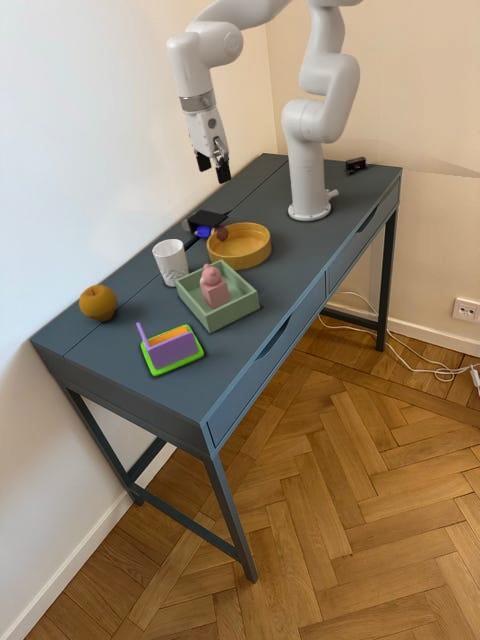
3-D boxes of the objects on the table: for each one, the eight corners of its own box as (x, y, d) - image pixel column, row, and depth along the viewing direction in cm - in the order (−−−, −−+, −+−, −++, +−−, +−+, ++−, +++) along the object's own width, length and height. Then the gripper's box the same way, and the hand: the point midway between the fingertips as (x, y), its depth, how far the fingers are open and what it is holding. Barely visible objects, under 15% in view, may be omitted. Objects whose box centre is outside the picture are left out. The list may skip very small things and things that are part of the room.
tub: (225, 275, 120) (221, 259, 117) (260, 308, 108) (257, 291, 104) (179, 296, 116) (174, 280, 113) (210, 333, 104) (205, 316, 100)
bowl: (251, 229, 135) (249, 215, 132) (284, 253, 123) (282, 239, 120) (199, 252, 130) (196, 238, 127) (228, 279, 118) (225, 265, 115)
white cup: (196, 271, 123) (187, 239, 117) (184, 289, 118) (175, 257, 111) (170, 269, 126) (160, 238, 119) (158, 287, 121) (146, 255, 114)
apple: (87, 311, 118) (73, 284, 112) (121, 301, 118) (109, 273, 113) (88, 333, 111) (73, 305, 105) (124, 322, 112) (111, 293, 106)
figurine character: (185, 240, 139) (220, 248, 129) (176, 218, 134) (212, 223, 125) (200, 230, 142) (235, 236, 133) (192, 207, 138) (228, 212, 128)
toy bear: (222, 291, 114) (214, 258, 107) (230, 300, 110) (223, 266, 104) (202, 301, 112) (193, 267, 106) (211, 310, 109) (202, 276, 102)
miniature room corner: (153, 378, 96) (143, 355, 92) (139, 344, 105) (130, 322, 100) (206, 356, 98) (199, 333, 94) (188, 324, 107) (181, 302, 103)
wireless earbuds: (342, 170, 154) (342, 161, 152) (363, 165, 155) (363, 156, 153) (348, 176, 151) (348, 166, 149) (368, 170, 151) (369, 161, 149)
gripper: (233, 101, 93) (247, 180, 104) (195, 88, 105) (211, 160, 116) (201, 114, 91) (219, 193, 102) (166, 99, 103) (186, 171, 114)
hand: (215, 175), depth 109 cm, fingers open, 9 cm apart
